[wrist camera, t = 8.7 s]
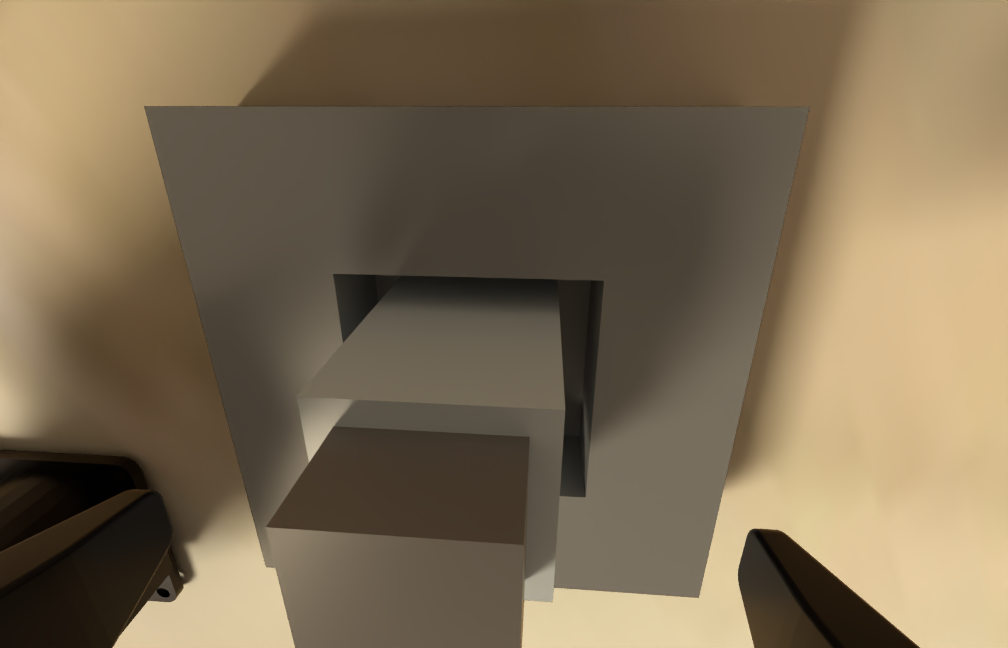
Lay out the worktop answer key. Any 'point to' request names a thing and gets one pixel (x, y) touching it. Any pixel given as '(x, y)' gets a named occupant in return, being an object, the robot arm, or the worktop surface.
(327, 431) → the plug
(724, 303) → the socket plate
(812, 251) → the worktop surface
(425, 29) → the worktop surface
